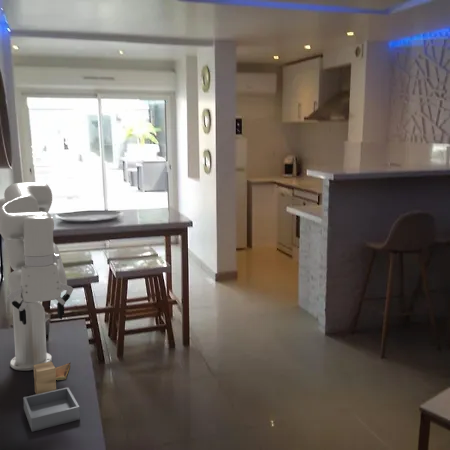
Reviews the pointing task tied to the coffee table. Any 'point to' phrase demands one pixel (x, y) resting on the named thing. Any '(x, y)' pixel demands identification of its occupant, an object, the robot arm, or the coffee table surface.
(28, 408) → the tray
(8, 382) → the coffee table surface
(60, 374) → the shard
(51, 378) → the oak block
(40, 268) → the robot arm
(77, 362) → the coffee table surface
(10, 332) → the coffee table surface
